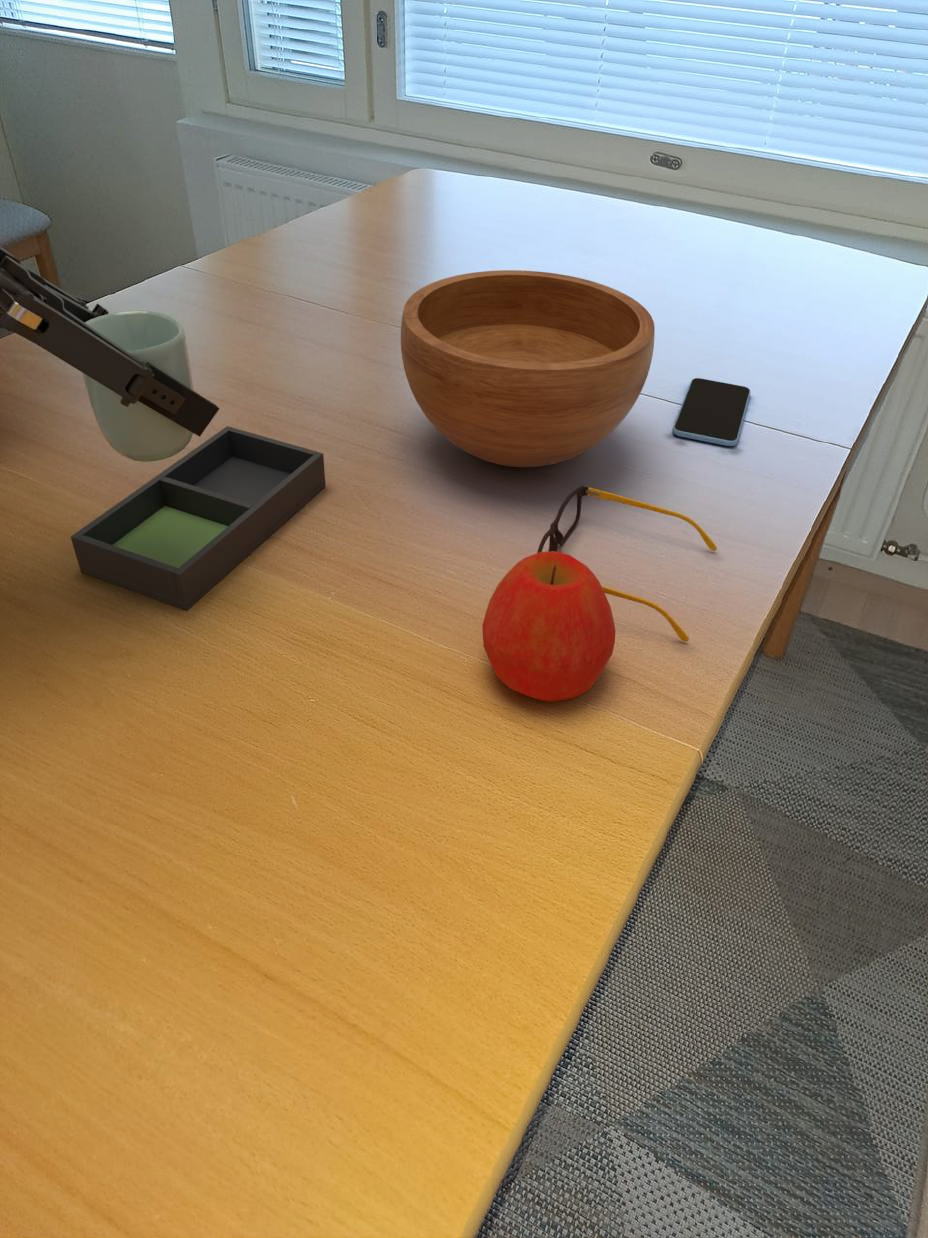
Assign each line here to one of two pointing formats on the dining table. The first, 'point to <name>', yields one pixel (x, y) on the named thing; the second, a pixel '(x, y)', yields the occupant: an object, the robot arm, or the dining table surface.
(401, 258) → the dining table surface
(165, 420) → the cup
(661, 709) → the dining table surface
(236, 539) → the holder
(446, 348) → the bowl
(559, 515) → the eyeglasses
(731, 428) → the smartphone
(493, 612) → the apple
